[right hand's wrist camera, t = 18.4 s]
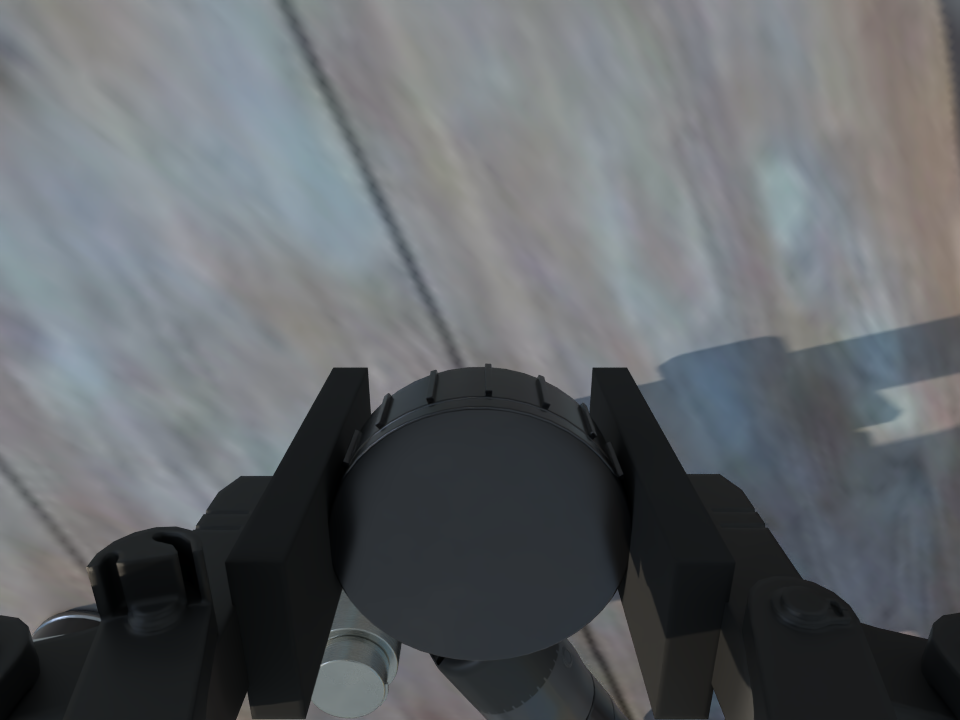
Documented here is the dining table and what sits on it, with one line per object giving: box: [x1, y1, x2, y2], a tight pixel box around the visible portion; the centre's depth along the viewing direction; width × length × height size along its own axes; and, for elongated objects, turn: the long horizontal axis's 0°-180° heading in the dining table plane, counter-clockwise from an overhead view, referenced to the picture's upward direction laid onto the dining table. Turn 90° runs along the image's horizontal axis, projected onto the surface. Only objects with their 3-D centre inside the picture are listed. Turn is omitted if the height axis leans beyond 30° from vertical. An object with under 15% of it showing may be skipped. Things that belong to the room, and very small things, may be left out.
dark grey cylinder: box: [311, 589, 401, 718], centre depth 37 cm, size 4×4×19 cm
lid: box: [328, 364, 632, 661], centre depth 11 cm, size 5×5×2 cm
